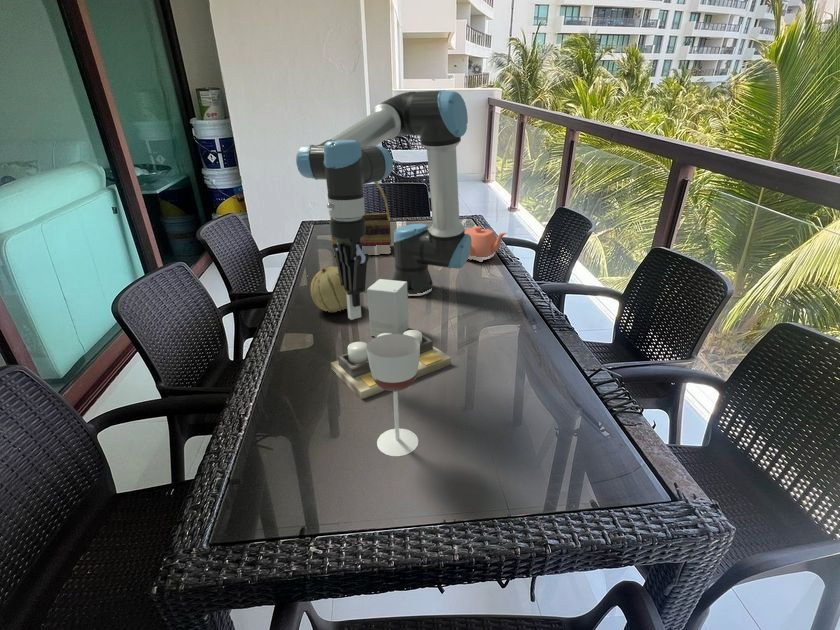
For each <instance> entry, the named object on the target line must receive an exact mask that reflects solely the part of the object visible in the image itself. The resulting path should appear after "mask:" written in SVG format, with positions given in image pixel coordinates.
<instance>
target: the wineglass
mask: <svg viewBox="0 0 840 630" xmlns="http://www.w3.org/2000/svg"><path fill="white" fill-rule="evenodd" d="M367 355H368V360H369V366H370V370H371V373H372V376H373V379H374V381H375V383H376V384H377V385H378V386H379V387H381V388H382V389H385V390H384V391H389V392H393V414H394V418H393V419H394V428H391V429H388V430H385V431H384V432H382V433H381V434H380V435H379V437H378V438H377V441H376V445H377V448H378V450H379V451H380V452H381V453H383V454H385V455H387V456H390V457H401V456H406V455H408V454H410V453H413V451H414V450H416V448H417V447H418V445H419V438H418V436H417V434H415V433H414V432H413V431H411V430H409V429H406V428H400V422H399V421H400V417H399V416H400V415H399V393H398V392H399V391H403V390H406V389H407V388H409V387H411V386H412V385H413V383H414V382H415V381H416V379H417V378H416V375H417V370H418V365H419V356H420V343H419V341H418V340H417V339H416V338H414V337H412V336H408V335H403V334H388V335H382V336H379V337H373V338H372V339H371V340H370V341H368V343H367Z"/></svg>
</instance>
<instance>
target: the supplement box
mask: <svg viewBox="0 0 840 630" xmlns="http://www.w3.org/2000/svg"><path fill="white" fill-rule="evenodd" d="M366 292H367V303H368V305H367V306H368V314H369V315H368V316H369V329H370V337H371V336H378V335H379V334H382V333H392V334H403V333H404V332H405V331H408V330H409V328H408V327H410V324H409V301H408V300H409V299H408V298H409V297H408V294H407V282H405V281H395V280H392V279H383V278H379V279H377V280H376V281H375V282H374V283H373V284H372V285H370V286H369V287H368V288H367V289H366Z"/></svg>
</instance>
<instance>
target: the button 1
mask: <svg viewBox="0 0 840 630" xmlns="http://www.w3.org/2000/svg"><path fill="white" fill-rule="evenodd" d="M367 344H368V343H367V342H364V341H354V342H351V343H349V344H348V346H347V353H348V358H349V362H350V363H352V364H363V363H366V362H367V361H368V355H367Z"/></svg>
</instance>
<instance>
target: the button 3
mask: <svg viewBox="0 0 840 630" xmlns="http://www.w3.org/2000/svg"><path fill="white" fill-rule="evenodd" d="M403 335H408V336H412V337H414V338H416V339H417V340H418V341H419V343H420V344H421V343H422V335H423V334H422V332H421V331H420V330H417V329H407V330H406V331H405V332H404V333H403Z"/></svg>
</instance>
